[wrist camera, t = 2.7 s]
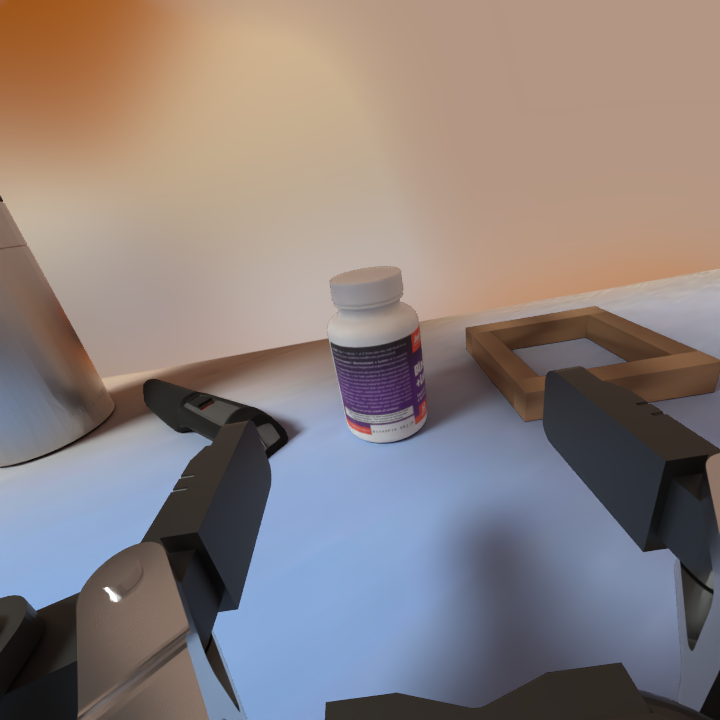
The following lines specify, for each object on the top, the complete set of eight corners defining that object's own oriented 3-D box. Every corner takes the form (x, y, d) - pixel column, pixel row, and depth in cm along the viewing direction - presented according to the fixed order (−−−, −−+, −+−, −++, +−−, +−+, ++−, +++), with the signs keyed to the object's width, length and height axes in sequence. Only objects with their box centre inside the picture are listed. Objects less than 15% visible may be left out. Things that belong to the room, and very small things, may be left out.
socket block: (524, 421, 21) (526, 392, 20) (466, 348, 31) (465, 327, 30) (713, 391, 20) (723, 361, 19) (592, 328, 30) (595, 306, 29)
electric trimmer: (183, 397, 33) (168, 367, 31) (295, 441, 23) (281, 401, 22) (142, 419, 30) (125, 388, 29) (249, 479, 21) (231, 436, 19)
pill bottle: (441, 432, 21) (428, 272, 17) (355, 455, 20) (320, 295, 16) (412, 390, 26) (396, 258, 22) (342, 408, 25) (312, 275, 21)
